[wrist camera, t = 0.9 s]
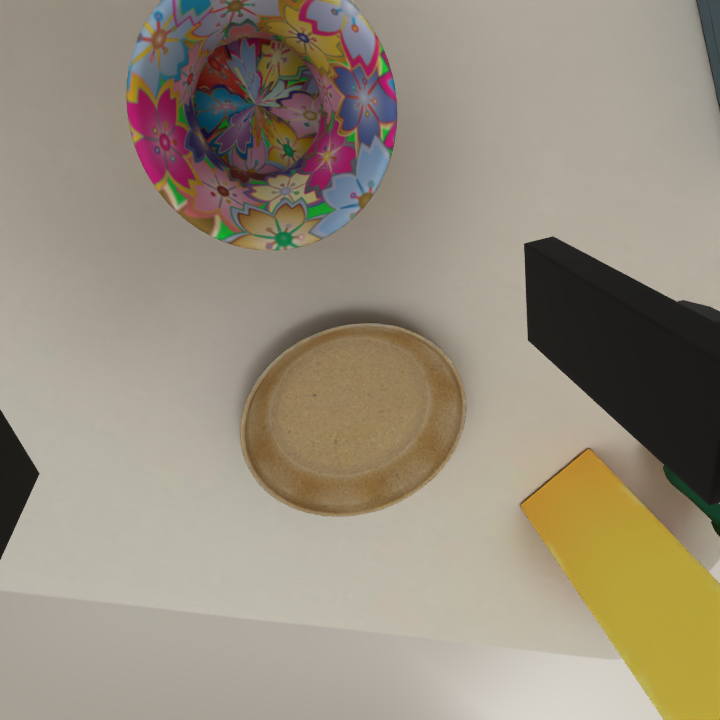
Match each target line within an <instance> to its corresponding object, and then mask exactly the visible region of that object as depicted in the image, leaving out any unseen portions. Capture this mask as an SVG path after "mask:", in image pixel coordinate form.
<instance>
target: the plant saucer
mask: <svg viewBox="0 0 720 720" xmlns="http://www.w3.org/2000/svg"><path fill="white" fill-rule="evenodd" d="M465 416H466V399H465V393H464V388H463V384H462V381H461V378H460V375H459V373H458V371H457V370H456V368H455V366H454V364H453V363H452V362H451V360H450V359H449V358H448V356H447V355H446V354H445V353H444V352H443V351H442V350H441V349H440V348H439V347H437V346H436V345H435V344H433V343H432V342H431V341H429V340H428V339H426V338H424V337H422V336H421V335H419V334H417V333H414V332H412V331H409V330H407V329H404V328H401V327H397V326H393V325H386V324H378V323H359V324H349V325H343V326H338V327H334V328H330V329H327V330H324V331H321V332H318V333H316V334H314V335H311V336H309V337H307V338H305V339H303V340H301V341H299V342H298V343H296V344H294V345H293V346H291V347H290V348H288V349H287V350H285V351H284V352H283V353H282V354H281V355H279V356H278V357H277V358H276V359H275V360H274V361H273V362H272V363H271V364H270V365H269V366H268V367H267V368H266V369H265V370H264V372H263V373H262V374H261V376H260V377H259V378H258V380H257V381H256V383H255V384H254V386H253V388H252V390H251V391H250V393H249V395H248V398H247V400H246V403H245V406H244V410H243V414H242V418H241V428H240V437H241V445H242V451H243V455H244V458H245V461H246V463H247V465H248V468H249V470H250V472H251V473H252V475H253V477H254V478H255V479H256V481H257V482H258V483H259V484H260V486H261V487H263V489H264V490H266V491H267V492H268V493H269V494H270V495H271V496H273V497H274V498H275V499H277V500H279V501H280V502H282V503H284V504H286V505H288V506H290V507H292V508H294V509H297V510H300V511H304V512H307V513H311V514H316V515H322V516H354V515H359V514H365V513H370V512H374V511H378V510H381V509H384V508H386V507H389V506H391V505H393V504H396V503H398V502H400V501H402V500H404V499H406V498H407V497H409V496H411V495H412V494H413V493H415V492H416V491H418V490H419V489H421V488H422V487H423V486H424V485H426V484H427V483H428V482H429V481H431V480H432V479H433V478H434V477H435V476H436V475H437V474H438V473H439V471H440V470H441V469H442V468H443V467H444V465H445V464H446V462H447V461H448V460H449V458H450V457H451V455H452V454H453V452H454V450H455V448H456V446H457V444H458V442H459V440H460V437H461V434H462V430H463V427H464V423H465Z"/></svg>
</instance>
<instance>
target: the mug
mask: <svg viewBox="0 0 720 720" xmlns="http://www.w3.org/2000/svg"><path fill="white" fill-rule="evenodd" d="M127 113H128V119H129V126H130V130H131V134H132V138H133V142H134V145H135V148H136V151H137V153H138V156H139V158H140V160H141V163H142V165H143V167H144V169H145V171H146V173H147V174H148V176H149V178H150V180H151V181H152V183H153V184H154V186H155V187H156V189H157V190H158V192H159V193H160V194H161V195H162V196H163V198H164V199H165V200H166V201H167V203H168V204H169V205H170V206H171V207H172V208H173V209H174V210H175V211H176V212H177V213H178V214H180V215H181V216H182V217H183V218H184V219H186V220H187V221H188V222H189V223H191V224H192V225H194V226H195V227H196V228H198V229H199V230H201V231H203V232H205V233H206V234H208V235H210V236H212V237H214V238H216V239H219V240H221V241H223V242H226V243H229V244H232V245H235V246H239V247H243V248H249V249H255V250H285V249H292V248H297V247H301V246H305V245H308V244H311V243H314V242H316V241H319V240H321V239H323V238H325V237H327V236H329V235H331V234H332V233H334V232H336V231H337V230H339V229H340V228H342V227H343V226H344V225H346V224H347V223H348V222H349V221H350V220H352V219H353V218H354V217H355V216H356V215H357V214H358V213H359V212H360V211H361V210H362V209H363V208H364V206H365V205H366V204H367V203H368V201H369V200H370V199H371V197H372V196H373V194H374V193H375V191H376V190H377V188H378V186H379V184H380V182H381V181H382V179H383V177H384V174H385V172H386V170H387V167H388V164H389V161H390V158H391V155H392V151H393V147H394V142H395V136H396V128H397V100H396V92H395V85H394V81H393V76H392V72H391V69H390V66H389V63H388V59H387V57H386V55H385V52H384V50H383V47H382V45H381V43H380V41H379V39H378V37H377V36H376V34H375V32H374V30H373V29H372V27H371V26H370V24H369V23H368V21H367V20H366V18H365V17H364V16H363V15H362V13H361V12H360V11H359V10H358V8H357V7H356V6H355V5H354V4H353V3H352V2H351V1H350V0H161V2H160V3H159V4H158V5H157V7H156V8H155V9H154V10H153V12H152V13H151V15H150V16H149V18H148V19H147V21H146V23H145V24H144V26H143V28H142V30H141V32H140V35H139V37H138V39H137V42H136V45H135V47H134V50H133V53H132V57H131V61H130V66H129V72H128V79H127Z"/></svg>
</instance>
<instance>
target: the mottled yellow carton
mask: <svg viewBox="0 0 720 720" xmlns="http://www.w3.org/2000/svg"><path fill="white" fill-rule="evenodd" d="M663 470H664V472H665V475H666V477H667V479H668V480H669V482H670V483H671V484H672V485H673V486H674V487H676V488H677V489H678V490H679V491H680V492H682V493H683V494H684V495H685V496H687V497H688V498H689V499H690V500H691V501H692V502H693V503H694V504H695V505H696V506H697V507H699V508H700V509H701V510H702V511H703V512H704V513H705V514H706V515H707V516H708V517H709V518H710V519H711V520H712V521H711V523H712V526H713V528H714V530H715V532H716V533H717V534H718V535H719V536H720V504H719V503H717V504H713V505H710V506H709V505H708V504H707V503H705V502H704V501H703V500H702V499H701V498H700V497H699V496H698V495H697V494H696V493H695V492H693V491H692V490H691V489H690V488H689V487H688V486H687V485H686V484H685V483H684V482H683V481H681V480H680V479H679V478H678V477H677V476H676V475H675V474H674V473H673V472H672V471H671V470H669V469H668V468H667V467H666V466H665V465H664V466H663ZM521 508H522V510H523V511H524V513H525V514H526V516H527V517H528V519H529V520H530V522H531V523H532V525H533V526H534V528H535V529H536V531H537V532H538V534H539V535H540V537H541V538H542V539H543V541H544V542H545V544H546V545H547V547H548V548H549V550H550V551H551V553H552V554H553V556H554V557H555V559H556V560H557V562H558V563H559V565H560V566H561V568H562V569H563V571H564V572H565V574H566V575H567V577H568V578H569V580H570V581H571V583H572V584H573V586H574V587H575V589H576V590H577V592H578V593H579V594H580V596H581V597H582V599H583V600H584V602H585V603H586V605H587V606H588V608H589V609H590V611H591V612H592V614H593V615H594V617H595V618H596V620H597V621H598V623H599V624H600V626H601V627H602V629H603V630H604V632H605V633H606V635H607V636H608V638H609V639H610V641H611V642H612V644H613V645H614V647H615V648H616V649H617V651H618V652H619V654H620V655H621V657H622V658H623V660H624V661H625V663H626V664H627V666H628V667H629V669H630V670H631V672H632V673H633V675H634V676H635V678H636V679H637V681H638V682H639V683H640V685H641V687H642V688H643V690H644V691H645V693H646V694H647V696H648V697H649V699H650V700H651V701H652V703H653V704H654V706H655V707H656V709H657V710H658V712H659V713H660V715H661V716H662V718H663V719H664V720H720V583H719V582H718V581H717V580H716V579H715V578H714V577H713V576H712V575H711V574H710V573H709V572H708V571H707V570H706V569H705V568H704V567H703V566H702V565H701V564H700V562H699V561H698V560H697V559H696V558H695V557H694V556H693V555H692V554H691V553H690V552H689V551H688V550H687V549H686V548H685V547H684V546H683V545H682V544H681V543H680V542H679V541H678V540H677V539H676V537H675V536H674V535H673V534H672V533H671V532H670V531H669V530H668V529H667V528H666V527H665V526H664V525H663V524H662V523H661V522H660V521H659V520H658V519H657V518H656V517H655V516H654V515H653V514H652V513H651V511H650V510H649V509H648V508H647V507H646V506H645V505H644V504H643V503H642V502H641V501H640V500H639V499H638V498H637V497H636V496H635V495H634V494H633V493H632V492H631V491H630V490H629V489H628V488H627V487H626V485H625V484H624V483H623V482H622V481H621V480H620V479H619V478H618V477H617V476H616V475H615V474H614V473H613V472H612V471H611V470H610V469H609V468H608V467H607V466H606V465H605V464H604V463H603V462H602V461H601V459H600V458H599V457H598V456H597V455H596V454H595V453H594V452H593V451H592V450H591V449H588V450H586V451H585V452H584V453H582V454H581V455H580V456H579V457H578V458H576V459H575V460H574V461H573V462H571V463H570V464H569V465H568V466H567V467H565V468H564V469H563V470H562V471H561V472H559V473H558V474H557V475H556V476H555V477H553V478H552V479H551V480H550V481H549V482H547V483H546V484H545V485H544V486H543V487H541V488H540V489H539V490H538V491H537V492H535V493H534V494H533V495H532V496H531V497H529V498H528V499H527V500H526V501H525V502H523V503H522V504H521Z"/></svg>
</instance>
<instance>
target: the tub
mask: <svg viewBox="0 0 720 720" xmlns="http://www.w3.org/2000/svg"><path fill="white" fill-rule="evenodd" d="M697 2H698V7H699V12H700V16H701V21H702V26H703V31H704V35H705V40H706V45H707V49H708V54H709V59H710V63H711V68H712V73H713V78H714V82H715V87H716V92H717V96H718V101H719V106H720V0H697Z"/></svg>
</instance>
